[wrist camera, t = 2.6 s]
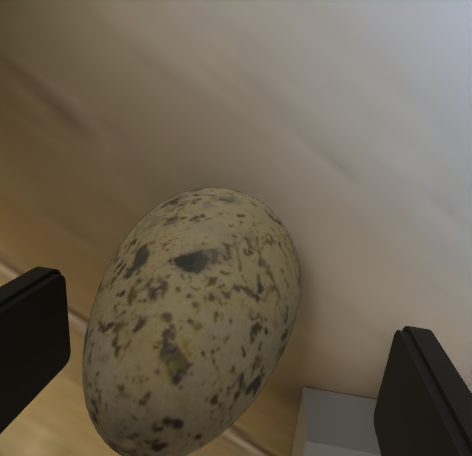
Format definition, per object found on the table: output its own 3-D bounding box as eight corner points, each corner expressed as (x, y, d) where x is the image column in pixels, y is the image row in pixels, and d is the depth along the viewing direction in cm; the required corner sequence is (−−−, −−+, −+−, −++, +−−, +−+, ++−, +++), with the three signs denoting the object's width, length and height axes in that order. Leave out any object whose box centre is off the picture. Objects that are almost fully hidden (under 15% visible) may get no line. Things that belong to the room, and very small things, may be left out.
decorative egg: (324, 259, 15) (382, 509, 6) (214, 319, 17) (119, 584, 7) (246, 142, 14) (156, 208, 5) (137, 219, 16) (-90, 382, 6)
